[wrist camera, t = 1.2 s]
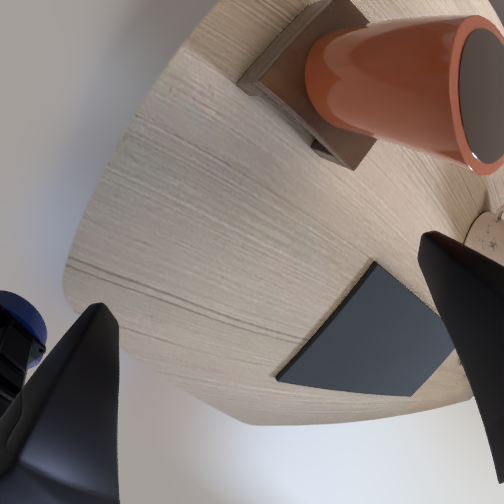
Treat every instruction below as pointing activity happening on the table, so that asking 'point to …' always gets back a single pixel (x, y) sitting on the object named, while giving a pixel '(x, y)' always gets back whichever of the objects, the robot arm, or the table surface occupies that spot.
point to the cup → (416, 86)
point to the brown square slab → (293, 78)
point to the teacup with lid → (488, 235)
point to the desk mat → (373, 342)
